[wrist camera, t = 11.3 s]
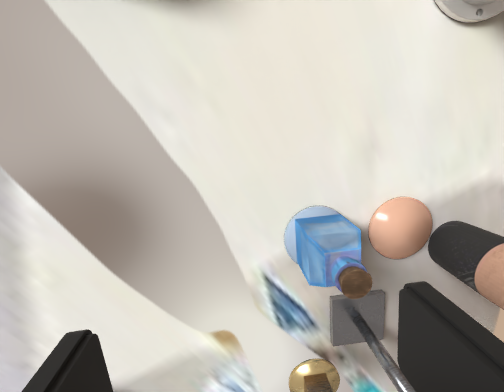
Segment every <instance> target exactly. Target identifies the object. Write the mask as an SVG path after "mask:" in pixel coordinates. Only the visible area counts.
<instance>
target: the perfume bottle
mask: <svg viewBox="0 0 504 392" xmlns="http://www.w3.org/2000/svg"><path fill="white" fill-rule="evenodd" d="M295 233H296V252H297V262H298V264H299V266H300V268H301V270H302V272H303V274H304V276H305V277H306V279H307V281H308V283H309V285H312V286H321V287H330V286H336V287H337V288H338V289H339V290H340V291H341V292H342V293H343V294H344V295H345V296H346V297H347V298H350V299H359V298H362V297H364V296H365V295H366V294H367V293H368V292H369V291H370V289H371V287H372V278H371V276H370V274H369V273H367V270H366V269H365V267H364V266H363V265H362V264H361V230H360V229H359V228H357V227H356V226H355V225H354V224H352V223H351V222H350V221H348V220H347V219H346V218H345V217H343V216H342V215H341V214H335V215H326V216H318V217H309V218H300V219H295Z"/></svg>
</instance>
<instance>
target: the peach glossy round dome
mask: <svg viewBox="0 0 504 392" xmlns="http://www.w3.org/2000/svg"><path fill="white" fill-rule="evenodd" d="M431 230H432V217H431V214H430V211H429V210H428V208H427V207H426V206H425V205H424V204H423V203H422V202H420V201H419V200H416V199H414V198H410V197H397V198H393V199H391V200H388V201H387V202H385V203H384V204H382V205H381V206H380V207H379V208H378V209H377V210H376V211H375V213H374V214H373V216H372V218H371V220H370V223H369V229H368V234H369V239H370V242H371V244H372V246H373V247H374V249H375V250H376V251H378V252H379V253H380V254H382V255H383V256H385V257H388V258H392V259H401V258H405V257H408V256H411V255H413V254H414V253H416V252H417V251H419V250H420V249H421V248H422V247H423V246H424V245H425V243H426V242H427V240H428V238H429V236H430V234H431Z"/></svg>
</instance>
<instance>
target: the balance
mask: <svg viewBox="0 0 504 392" xmlns="http://www.w3.org/2000/svg"><path fill="white" fill-rule="evenodd" d="M384 304H385V293H384V292H383V291H382V290H376V291H369V292H368V293H367V294H366V295H365V296H364V297H362V298H359V299H350V298H347V297H346V296H345V295H337V296H330V335H331V343H332V345H333V346H339V345H346V344H353V343H360V342H367V344H368V346H369V347H370V349H371V350H372V352H373V353H374V355H375V356H376V358H377V359H378V361H379V362H380V364H381V365H382V367H383V369H384V370H385V372H386V373H387V375H388V376H389V378H390V379H391V381H392V382H393V384H394V385H395V387H396V388H397V390H398V392H415V390H414V389H413V387H412V386H411V385H410V383H409V382H408V380H407V379H406V378H405V376H404V375H403V373H402V372H401V370H400V368H399V367H398V366H397V364H396V363H395V361H394V360H393V359H392V357H391V356H390V354H389V353H388V352H387V350H386V349H385V347H384V346H383V345H382V343H381V342H380V341H379V340H382V339H383V334H384ZM339 383H340V377H339V374H338V371H337V369H336V368H335V366H334V365H333V364H332V363H331V362H329V361H327V360H324V359H310V360H306V361H304V362H302V363H300V364H299V365H298V366H296V367H295V368H294V370H293V371H292V373H291V375H290V377H289V388H290V392H336V391H337V389H338V386H339Z"/></svg>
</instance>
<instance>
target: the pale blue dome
mask: <svg viewBox="0 0 504 392" xmlns="http://www.w3.org/2000/svg"><path fill="white" fill-rule="evenodd" d="M335 214H339V213H338V212H337V211H335V210H334V209H332V208H329V207H326V206H311V207H308V208H305V209H303V210H301V211H300V212H298V213H297V214H296V215H295V216H294V217H292V219H291V220H290V221H289V223H288V225H287V227H286V230H285V234H284V244H285V248H286V250H287V252H288V254H289V256H290V257H291V259H292V260H293V261H294V262H296V263H297V264H298V262H297V252H296V233H295V219H300V218H309V217H318V216H326V215H335Z"/></svg>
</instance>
